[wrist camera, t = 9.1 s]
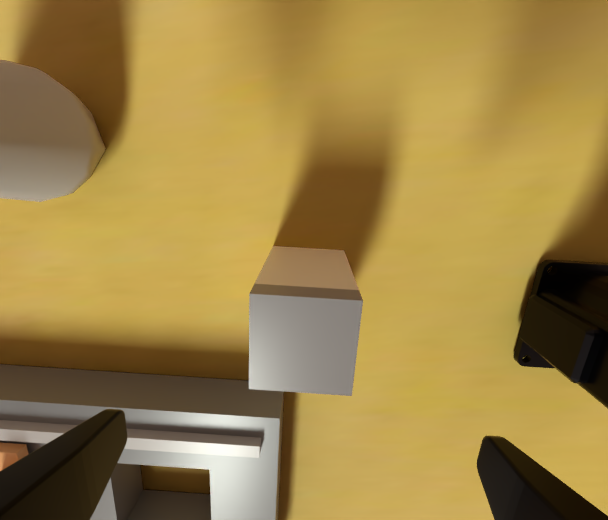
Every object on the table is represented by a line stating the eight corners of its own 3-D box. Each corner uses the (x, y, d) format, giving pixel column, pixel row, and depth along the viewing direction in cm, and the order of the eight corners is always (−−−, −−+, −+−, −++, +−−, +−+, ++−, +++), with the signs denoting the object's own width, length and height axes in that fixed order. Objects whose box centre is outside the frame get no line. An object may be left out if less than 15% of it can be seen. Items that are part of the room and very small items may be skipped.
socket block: (284, 383, 20) (278, 427, 17) (277, 538, 24) (271, 599, 21) (-55, 360, 21) (-128, 399, 17) (-7, 518, 25) (-60, 575, 21)
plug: (344, 250, 18) (362, 300, 11) (337, 315, 19) (351, 395, 12) (273, 245, 18) (249, 293, 11) (271, 310, 19) (248, 389, 12)
